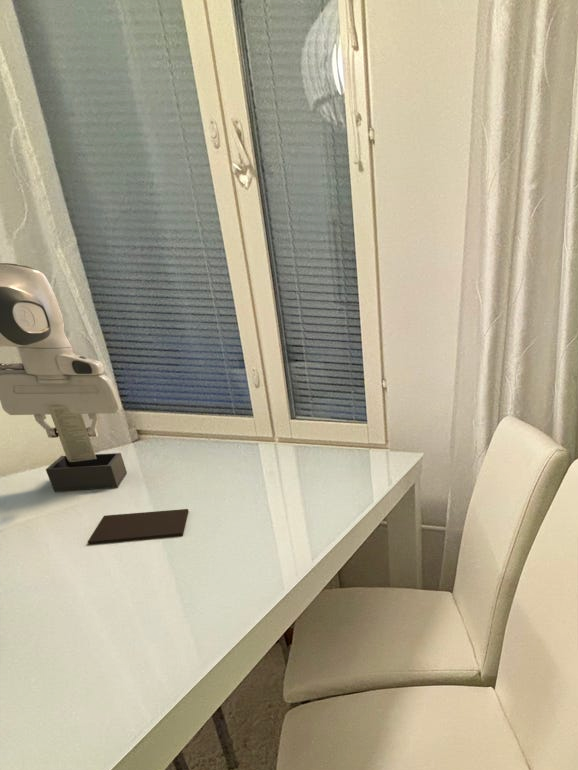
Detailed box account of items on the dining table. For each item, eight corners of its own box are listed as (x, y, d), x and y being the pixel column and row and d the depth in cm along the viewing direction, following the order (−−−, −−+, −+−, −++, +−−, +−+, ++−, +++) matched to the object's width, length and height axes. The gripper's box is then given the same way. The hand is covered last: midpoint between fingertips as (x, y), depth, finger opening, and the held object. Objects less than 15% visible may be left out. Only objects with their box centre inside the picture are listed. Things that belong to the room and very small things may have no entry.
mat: (88, 544, 89) (87, 541, 89) (104, 518, 100) (103, 515, 100) (183, 535, 94) (182, 532, 93) (188, 511, 105) (188, 508, 104)
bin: (54, 491, 114) (45, 469, 111) (68, 476, 124) (61, 455, 121) (117, 487, 117) (110, 465, 115) (127, 473, 127) (120, 452, 125)
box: (93, 456, 121) (76, 401, 115) (97, 459, 118) (79, 404, 112) (65, 458, 118) (46, 403, 112) (68, 462, 115) (48, 405, 109)
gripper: (-21, 364, 102) (9, 441, 109) (105, 365, 109) (126, 437, 116) (-9, 361, 107) (19, 435, 114) (111, 363, 114) (130, 432, 121)
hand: (74, 436), depth 115 cm, fingers closed on box, 6 cm apart
